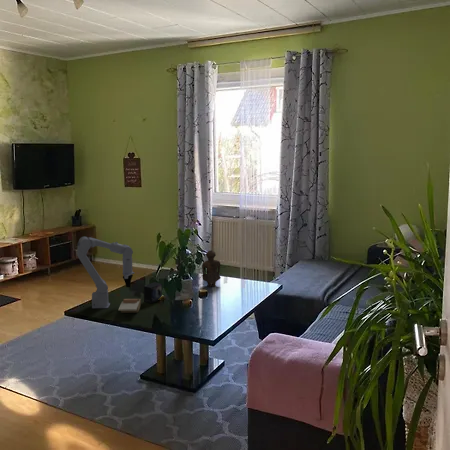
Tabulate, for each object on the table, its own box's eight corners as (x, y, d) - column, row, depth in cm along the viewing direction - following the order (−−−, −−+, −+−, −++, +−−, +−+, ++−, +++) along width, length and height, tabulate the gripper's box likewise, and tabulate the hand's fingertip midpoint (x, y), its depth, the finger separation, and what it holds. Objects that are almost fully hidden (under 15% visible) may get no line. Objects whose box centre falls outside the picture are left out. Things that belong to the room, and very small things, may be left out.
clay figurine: (218, 283, 339) (218, 248, 335) (222, 287, 330) (222, 251, 325) (200, 284, 336) (200, 249, 331) (204, 288, 326) (204, 252, 322)
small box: (151, 304, 296) (151, 287, 294) (143, 302, 299) (143, 285, 297) (162, 299, 305) (162, 283, 303) (154, 297, 308) (154, 281, 306)
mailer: (121, 312, 281) (120, 306, 280) (124, 305, 293) (124, 298, 293) (138, 312, 281) (138, 306, 280) (141, 305, 294) (140, 298, 293)
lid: (118, 310, 272) (118, 306, 271) (122, 302, 285) (122, 298, 284) (136, 310, 272) (136, 306, 272) (139, 302, 285) (139, 298, 285)
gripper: (132, 268, 286) (133, 290, 288) (135, 262, 300) (136, 283, 303) (120, 268, 286) (121, 290, 288) (124, 262, 300) (125, 283, 302)
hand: (128, 287), depth 295 cm, fingers closed
